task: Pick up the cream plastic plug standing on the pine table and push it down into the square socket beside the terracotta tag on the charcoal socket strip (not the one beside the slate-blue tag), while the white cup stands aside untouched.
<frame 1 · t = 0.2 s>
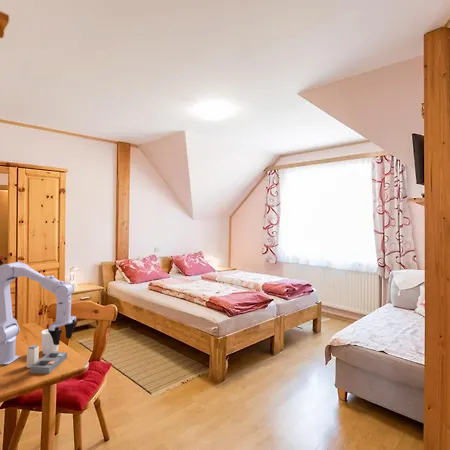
hand: (62, 341, 139), 10 cm above the table, fingers open, 7 cm apart
plug: (32, 366, 136), on the table
white cup: (50, 351, 151), on the table
socket strip: (49, 364, 138), on the table
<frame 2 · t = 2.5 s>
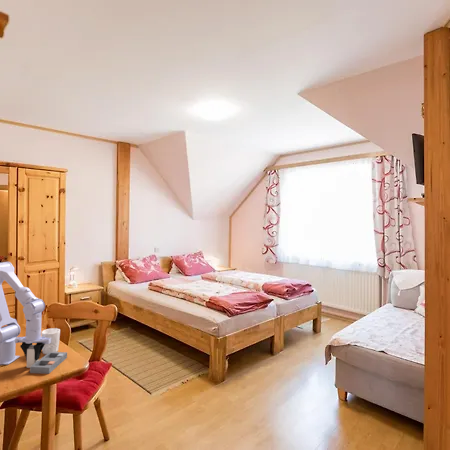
hand: (32, 359, 136), 3 cm above the table, fingers closed on plug, 3 cm apart
plug: (32, 366, 136), on the table, touching gripper
everything else where it was.
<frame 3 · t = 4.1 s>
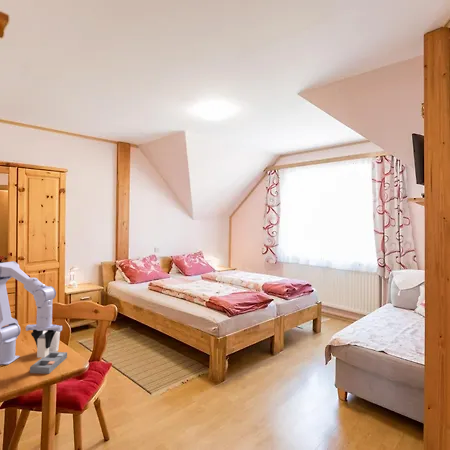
hand: (43, 347, 134), 9 cm above the table, fingers closed on plug, 3 cm apart
plug: (43, 355, 133), point 6 cm above the table, touching gripper
everything else where it was.
when the fingers open (4 cm above the table, at t = 6.0 s): plug stays where it is, resting in socket strip.
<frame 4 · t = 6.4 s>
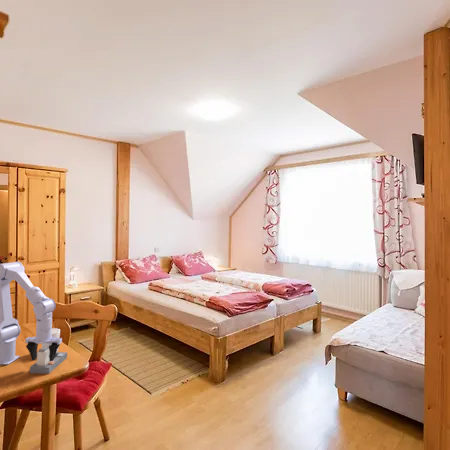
hand: (43, 359, 134), 4 cm above the table, fingers open, 7 cm apart
plug: (42, 369, 134), resting in socket strip
everything else where it was.
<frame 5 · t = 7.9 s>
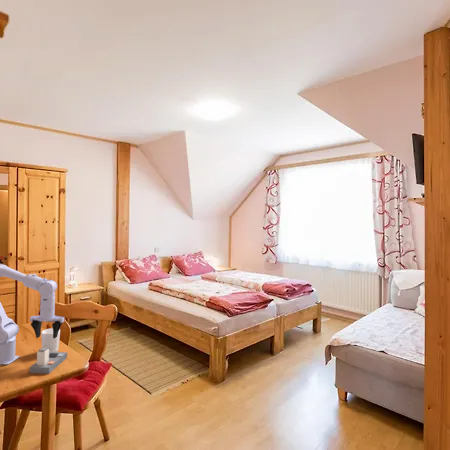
hand: (46, 337, 142), 10 cm above the table, fingers open, 7 cm apart
nothing on the table moved.
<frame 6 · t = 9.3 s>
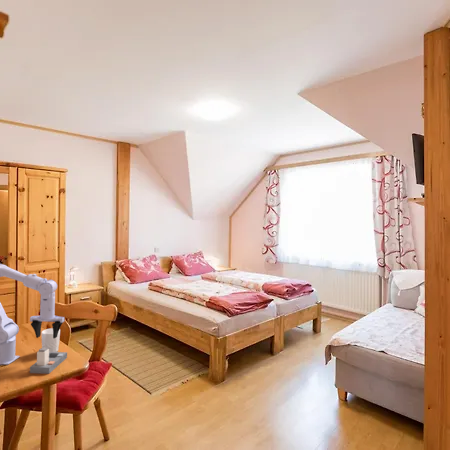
hand: (46, 337, 142), 10 cm above the table, fingers open, 7 cm apart
nothing on the table moved.
at the end: plug 0.2 cm from the target spot on the socket strip, point 0.0 cm above the socket strip's base; plug tilted 0°; the gripper is holding nothing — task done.
